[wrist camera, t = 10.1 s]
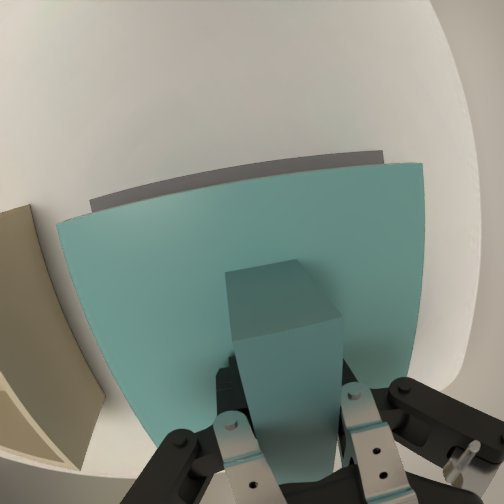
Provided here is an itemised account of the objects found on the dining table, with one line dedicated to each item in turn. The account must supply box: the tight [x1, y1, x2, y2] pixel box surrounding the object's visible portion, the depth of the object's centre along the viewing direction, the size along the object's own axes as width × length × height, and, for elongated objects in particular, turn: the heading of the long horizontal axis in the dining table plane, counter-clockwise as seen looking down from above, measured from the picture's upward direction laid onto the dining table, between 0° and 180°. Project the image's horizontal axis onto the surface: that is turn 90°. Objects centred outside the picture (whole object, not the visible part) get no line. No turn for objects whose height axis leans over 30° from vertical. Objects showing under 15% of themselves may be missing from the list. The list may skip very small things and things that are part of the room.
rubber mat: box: [90, 150, 384, 213], centre depth 18 cm, size 18×18×1 cm
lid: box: [56, 162, 425, 485], centre depth 12 cm, size 17×17×7 cm
